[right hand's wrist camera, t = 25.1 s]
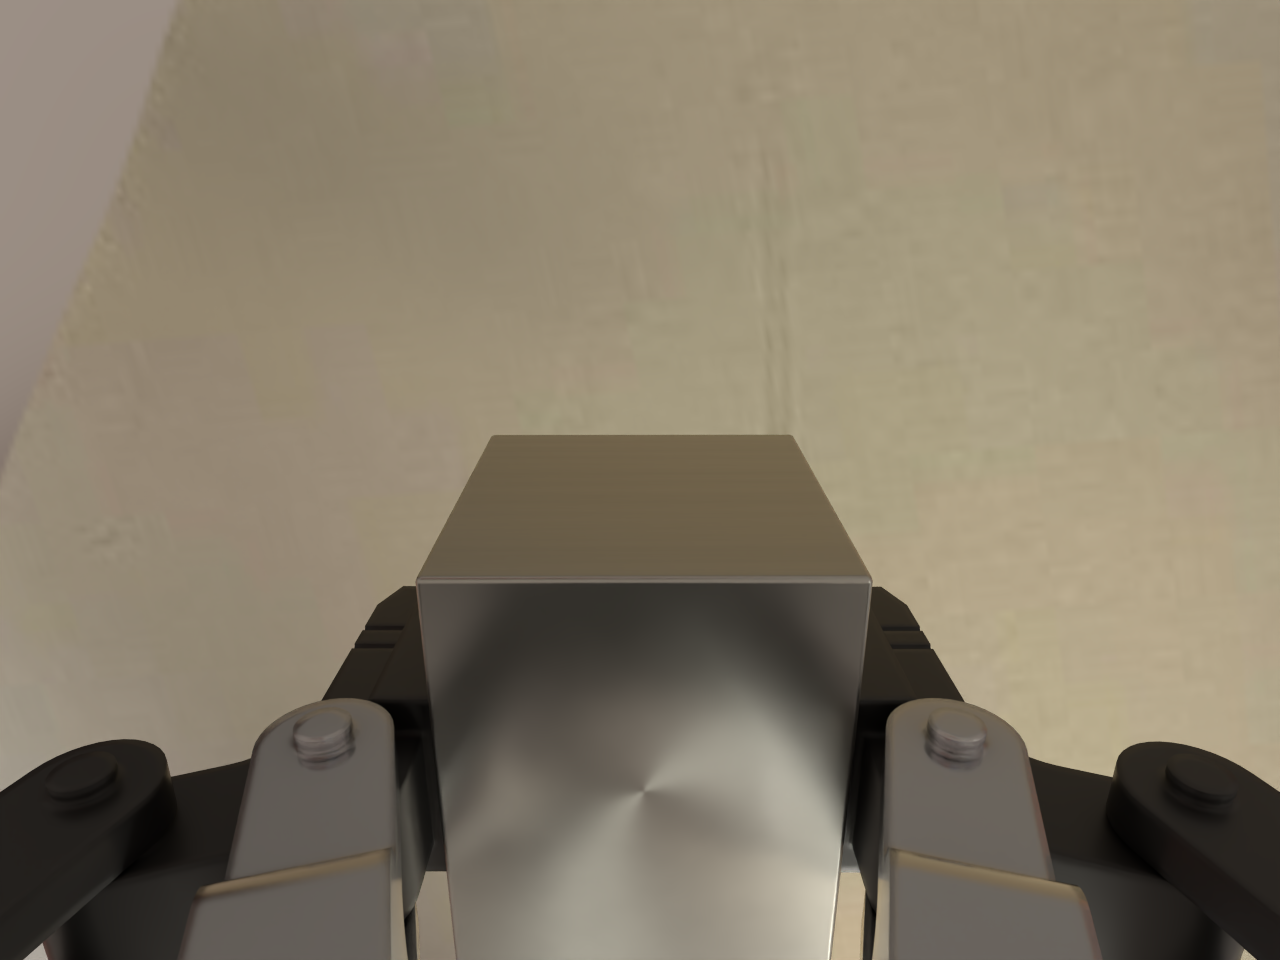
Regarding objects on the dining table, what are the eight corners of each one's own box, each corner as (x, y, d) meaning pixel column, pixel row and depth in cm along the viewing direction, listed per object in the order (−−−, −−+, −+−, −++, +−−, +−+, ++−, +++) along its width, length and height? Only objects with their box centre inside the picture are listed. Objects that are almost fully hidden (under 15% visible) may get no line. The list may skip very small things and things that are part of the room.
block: (793, 433, 12) (874, 577, 8) (773, 722, 13) (832, 965, 9) (490, 434, 12) (413, 578, 8) (510, 723, 13) (454, 966, 9)
